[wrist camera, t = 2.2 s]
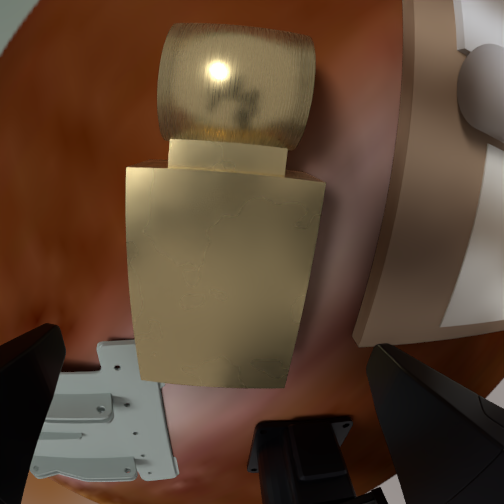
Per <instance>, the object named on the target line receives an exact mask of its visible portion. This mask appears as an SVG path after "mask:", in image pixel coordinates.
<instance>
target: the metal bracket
mask: <svg viewBox="0 0 504 504" xmlns="http://www.w3.org/2000/svg"><path fill="white" fill-rule="evenodd" d="M97 353H98V357H99V361H100V365H101V369H100V371H91V372H60V375H59V379H58V382H57V386H56V390H55V393H54V397H53V400H52V403H51V405H50V408H49V411H48V413H47V416H46V419H45V422H44V425H43V427H42V430H41V433H40V436H39V439H38V442H37V446H36V449H35V452H34V455H33V459H32V462H31V465H30V471H31V473H32V474H33V475H34V476H35V477H36V478H39V479H42V478H46V477H50V476H54V475H57V474H61V475H64V476H67V477H71V478H75V479H78V480H82V481H86V482H116V481H132V480H135V479H136V478H137V476H138V474H137V471H138V472H139V474H140V476H141V478H142V479H144V480H145V481H152V480H162V479H170V478H175V477H176V476H177V475H178V474H179V470H178V465H177V460H176V458H175V457H173V455H172V450H171V445H170V441H169V435H168V430H167V425H166V419H165V414H164V408H163V402H162V395H161V388H162V387H163V386H165V383H160V382H152V381H144V380H141V378H140V372H139V365H138V359H137V352H136V345H135V340H120V341H103V342H99V343H98V344H97ZM116 365H118V366H120V368H115V366H116ZM125 403H129V405H125ZM134 432H135V433H134ZM128 471H130V473H127V472H128Z"/></svg>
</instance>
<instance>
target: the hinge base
mask: <svg viewBox="0 0 504 504" xmlns="http://www.w3.org/2000/svg"><path fill="white" fill-rule="evenodd" d="M402 3H403V64H402V83H401V97H400V109H399V119H398V128H397V137H396V145H395V152H394V159H393V166H392V172H391V178H390V184H389V190H388V196H387V201H386V206H385V211H384V216H383V221H382V226H381V230H380V235H379V239H378V244H377V248H376V252H375V256H374V260H373V264H372V268H371V272H370V276H369V280H368V283H367V287H366V291H365V294H364V298H363V301H362V305H361V308H360V311H359V315H358V318H357V321H356V324H355V327H354V331H353V334H352V337H353V339H354V340H355V342H356V344H357V346H358V347H374V346H375V345H376V344H381V343H389V344H391V345H400V344H411V343H421V342H430V341H438V340H446V339H454V338H461V337H467V336H474V335H480V334H486V333H492V332H497V331H503V330H504V0H402Z"/></svg>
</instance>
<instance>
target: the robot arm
mask: <svg viewBox="0 0 504 504" xmlns="http://www.w3.org/2000/svg"><path fill="white" fill-rule="evenodd" d="M65 355H66V349H65V345H64V341H63V337H62V334H61V330H60V328H59V326H57V325H54V324H49V323H45V324H43V325H41V326H39V327H37V328H35V329H33V330H31V331H29V332H27V333H25V334H23V335H21V336H19V337H17V338H15V339H13V340H11V341H9V342H7V343H5V344H3V345H1V346H0V504H21V501H22V496H23V492H24V488H25V484H26V480H27V476H28V473H29V469H30V465H31V462H32V459H33V455H34V452H35V449H36V446H37V442H38V439H39V436H40V433H41V430H42V427H43V425H44V422H45V419H46V416H47V413H48V411H49V408H50V405H51V403H52V400H53V397H54V393H55V390H56V386H57V382H58V379H59V375H60V372H61V369H62V365H63V362H64V359H65ZM366 373H367V377H368V381H369V385H370V389H371V393H372V397H373V401H374V405H375V409H376V413H377V416H378V419H379V422H380V425H381V428H382V431H383V434H384V437H385V439H386V442H387V445H388V448H389V451H390V454H391V457H392V460H393V463H394V466H395V470H396V473H397V476H398V479H399V482H400V485H401V489H402V492H403V495H404V499H405V502H406V504H504V409H503V408H501V407H499V406H497V405H496V404H494V403H492V402H490V401H488V400H486V399H485V398H483V397H481V396H478V395H477V394H476V393H474V392H472V391H471V390H469V389H467V388H465V387H464V386H462V385H460V384H458V383H457V382H455V381H453V380H451V379H450V378H448V377H446V376H445V375H443V374H441V373H439V372H438V371H436V370H434V369H432V368H431V367H429V366H427V365H425V364H424V363H422V362H420V361H419V360H417V359H415V358H413V357H412V356H410V355H408V354H407V353H405V352H403V351H401V350H400V349H398V348H396V347H395V346H393V345H391V344H389V343H381V344H376V345H375V346H374V348H373V351H372V353H371V356H370V358H369V361H368V363H367V367H366ZM352 425H353V421H352V419H351V417H341V418H332V419H322V420H310V421H295V422H272V423H260V424H258V425H256V427H255V430H254V435H253V440H252V445H251V450H250V454H249V459H248V464H247V471H248V472H251V473H258V472H259V479H260V487H261V495H262V503H263V504H388V502H387V500H386V498H385V496H384V494H383V492H382V489H381V487H379V488H376V489H373V490H371V492H369V493H366V494H364V495H361V496H358V497H356V494H355V491H354V488H353V485H352V482H351V479H350V476H349V473H348V470H347V467H346V464H345V461H344V458H343V455H342V452H341V449H340V446H341V445H342V443H343V441H344V439H345V438H346V436H347V434H348V432H349V430H350V429H351V427H352Z"/></svg>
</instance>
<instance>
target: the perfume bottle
mask: <svg viewBox="0 0 504 504" xmlns="http://www.w3.org/2000/svg"><path fill="white" fill-rule="evenodd" d="M314 81H315V49H314V44H313V41H312V38H311V37H310V36H308V35H303V34H297V33H292V32H286V31H280V30H273V29H266V28H258V27H249V26H239V25H226V24H207V23H176V24H174V25H173V26H172V27H171V29H170V31H169V33H168V35H167V38H166V41H165V44H164V48H163V51H162V56H161V61H160V68H159V76H158V89H157V109H158V121H159V127H160V132H161V135H162V137H163V139H164V140H166V141H170V144H169V159H168V160H147V161H144V162H141V163H138V164H135V165H132V166H129V167H126V243H127V264H128V279H129V292H130V303H131V313H132V322H133V330H134V338H135V345H136V352H137V359H138V365H139V372H140V378H141V380H144V381H152V382H160V383H170V384H180V385H192V386H206V387H226V388H284V387H285V383H286V380H287V376H288V372H289V367H290V363H291V359H292V355H293V351H294V347H295V342H296V338H297V334H298V329H299V325H300V320H301V316H302V311H303V306H304V302H305V297H306V292H307V287H308V282H309V277H310V272H311V267H312V262H313V257H314V251H315V246H316V240H317V235H318V229H319V223H320V217H321V211H322V205H323V199H324V192H325V186H326V183H325V182H323V181H321V180H319V179H317V178H315V177H313V176H311V175H309V174H307V173H305V172H303V171H295V170H287V169H285V168H286V160H287V152H288V150H289V151H293V150H294V149H295V148H296V147H297V145H298V144H299V142H300V140H301V137H302V135H303V132H304V129H305V126H306V123H307V120H308V116H309V112H310V107H311V102H312V96H313V89H314Z"/></svg>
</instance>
